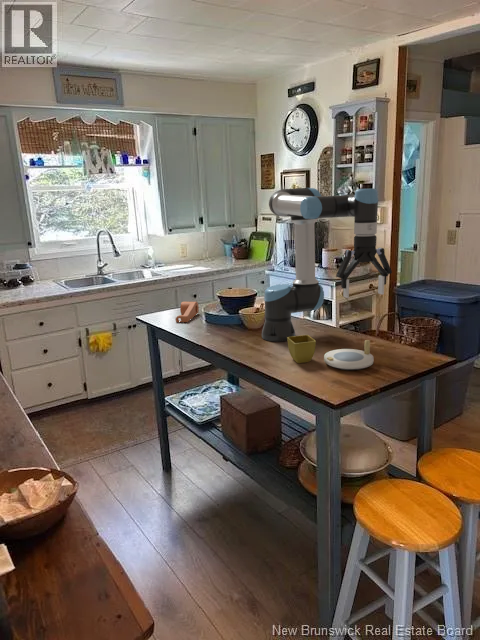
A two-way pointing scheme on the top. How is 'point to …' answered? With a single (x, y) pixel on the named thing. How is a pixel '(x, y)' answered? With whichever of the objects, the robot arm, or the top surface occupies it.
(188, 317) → the crank
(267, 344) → the top surface
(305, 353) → the flower pot
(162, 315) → the top surface
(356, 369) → the turntable base
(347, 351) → the disc
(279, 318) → the robot arm
